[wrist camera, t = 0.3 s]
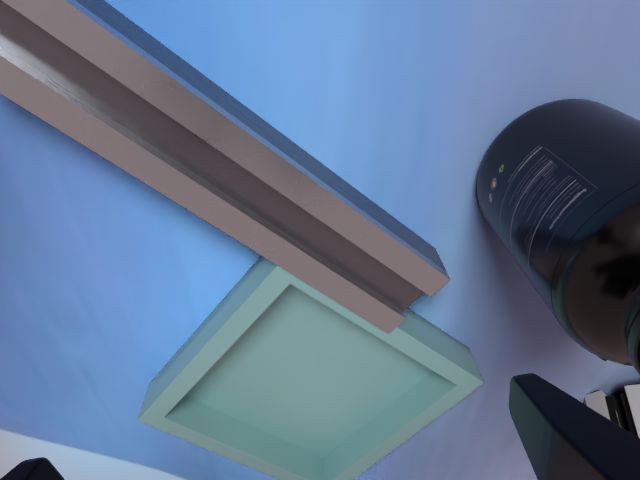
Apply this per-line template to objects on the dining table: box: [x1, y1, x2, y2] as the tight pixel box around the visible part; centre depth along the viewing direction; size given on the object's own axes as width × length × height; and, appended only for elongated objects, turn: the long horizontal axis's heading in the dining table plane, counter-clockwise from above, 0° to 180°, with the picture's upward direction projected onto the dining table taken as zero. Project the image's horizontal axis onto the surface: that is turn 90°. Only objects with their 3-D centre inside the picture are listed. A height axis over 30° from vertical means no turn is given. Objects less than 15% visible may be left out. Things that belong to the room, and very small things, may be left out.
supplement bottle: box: [477, 99, 640, 375], centre depth 16 cm, size 7×7×12 cm
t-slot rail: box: [0, 0, 450, 334], centre depth 19 cm, size 20×4×3 cm, turn 51°
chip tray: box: [137, 256, 484, 480], centre depth 26 cm, size 13×13×2 cm
